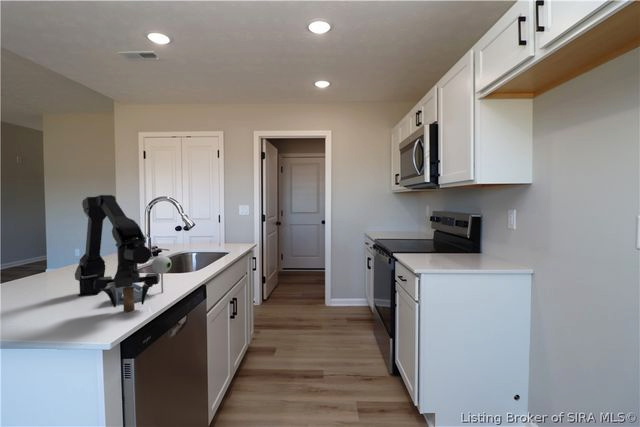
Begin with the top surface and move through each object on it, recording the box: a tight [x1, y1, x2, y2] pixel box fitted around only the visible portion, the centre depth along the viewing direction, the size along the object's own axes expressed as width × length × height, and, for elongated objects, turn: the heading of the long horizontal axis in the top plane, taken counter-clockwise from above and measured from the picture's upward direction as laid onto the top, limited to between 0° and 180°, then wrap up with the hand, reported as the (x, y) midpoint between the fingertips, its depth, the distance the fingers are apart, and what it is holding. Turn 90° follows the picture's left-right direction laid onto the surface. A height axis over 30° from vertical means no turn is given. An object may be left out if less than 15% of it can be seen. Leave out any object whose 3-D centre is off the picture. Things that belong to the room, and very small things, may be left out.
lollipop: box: [151, 255, 172, 294], centre depth 130 cm, size 7×7×15 cm
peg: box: [122, 286, 136, 313], centre depth 109 cm, size 3×3×8 cm
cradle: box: [109, 283, 149, 305], centre depth 121 cm, size 11×7×8 cm, turn 109°
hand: (129, 305), depth 109 cm, fingers open, 8 cm apart
